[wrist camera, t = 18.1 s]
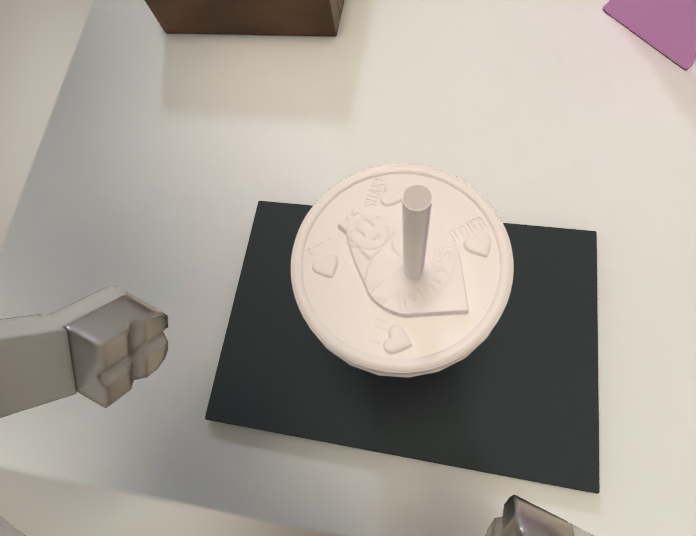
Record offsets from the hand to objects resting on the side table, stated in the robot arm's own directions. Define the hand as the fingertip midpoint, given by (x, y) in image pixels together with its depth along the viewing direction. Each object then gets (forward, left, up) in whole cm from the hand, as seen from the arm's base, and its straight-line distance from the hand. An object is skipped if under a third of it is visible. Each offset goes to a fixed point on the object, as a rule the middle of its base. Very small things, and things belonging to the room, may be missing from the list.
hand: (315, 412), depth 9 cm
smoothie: (+1, +4, -12) cm, 13 cm away
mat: (+1, +4, -12) cm, 13 cm away
